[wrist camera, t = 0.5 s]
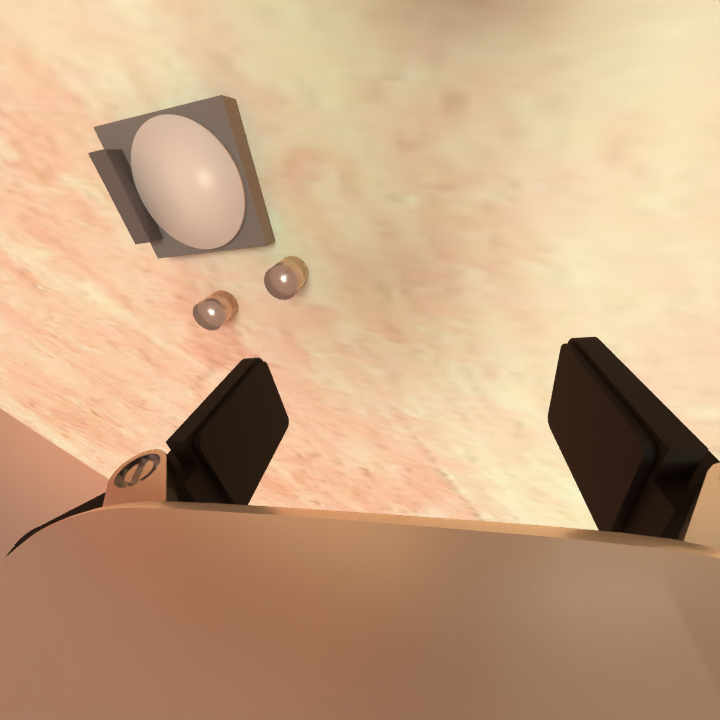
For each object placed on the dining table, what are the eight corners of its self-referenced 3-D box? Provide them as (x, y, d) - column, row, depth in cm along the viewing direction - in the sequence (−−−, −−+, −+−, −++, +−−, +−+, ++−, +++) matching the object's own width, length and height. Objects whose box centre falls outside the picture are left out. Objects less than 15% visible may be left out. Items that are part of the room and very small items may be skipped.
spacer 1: (207, 291, 48) (187, 304, 44) (232, 289, 47) (214, 302, 43) (218, 316, 51) (200, 330, 47) (242, 315, 50) (225, 329, 46)
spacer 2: (275, 257, 43) (259, 268, 39) (304, 254, 42) (291, 265, 38) (283, 287, 46) (270, 300, 41) (311, 285, 45) (300, 298, 40)
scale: (112, 129, 38) (72, 126, 33) (235, 99, 34) (208, 91, 30) (170, 253, 46) (144, 263, 41) (274, 240, 42) (257, 250, 38)
